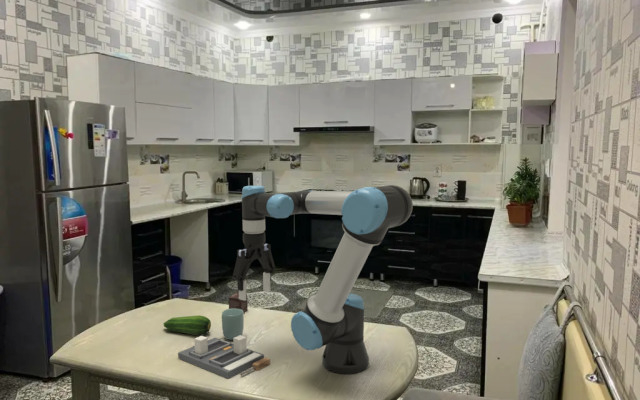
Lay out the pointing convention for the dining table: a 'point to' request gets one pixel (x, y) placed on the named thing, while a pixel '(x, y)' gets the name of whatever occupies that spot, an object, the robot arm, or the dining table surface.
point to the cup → (232, 323)
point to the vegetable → (189, 325)
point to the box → (237, 302)
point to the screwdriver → (258, 365)
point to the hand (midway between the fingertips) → (255, 295)
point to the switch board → (221, 358)
